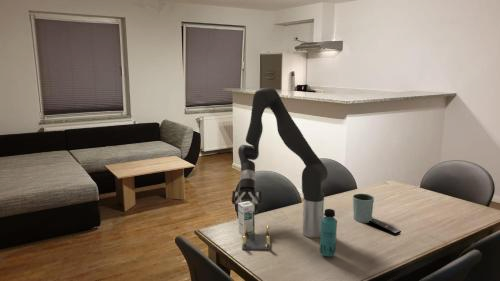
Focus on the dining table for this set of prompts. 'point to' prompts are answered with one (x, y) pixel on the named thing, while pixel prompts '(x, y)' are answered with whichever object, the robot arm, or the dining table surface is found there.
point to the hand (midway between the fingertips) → (246, 212)
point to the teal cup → (363, 207)
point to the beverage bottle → (328, 233)
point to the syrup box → (246, 217)
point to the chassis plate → (256, 240)
